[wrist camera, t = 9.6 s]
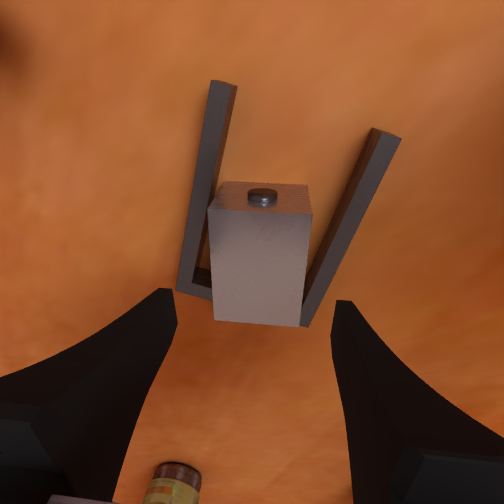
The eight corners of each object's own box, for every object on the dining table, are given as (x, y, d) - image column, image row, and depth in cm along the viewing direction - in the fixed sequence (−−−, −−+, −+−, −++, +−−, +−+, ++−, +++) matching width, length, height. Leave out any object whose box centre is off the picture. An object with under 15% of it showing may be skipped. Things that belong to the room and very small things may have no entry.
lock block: (307, 179, 18) (313, 208, 14) (296, 279, 22) (298, 327, 17) (226, 175, 19) (207, 202, 14) (228, 274, 22) (214, 320, 18)
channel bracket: (389, 132, 16) (401, 138, 15) (306, 309, 23) (308, 327, 21) (219, 80, 16) (211, 79, 14) (183, 274, 22) (175, 290, 21)
